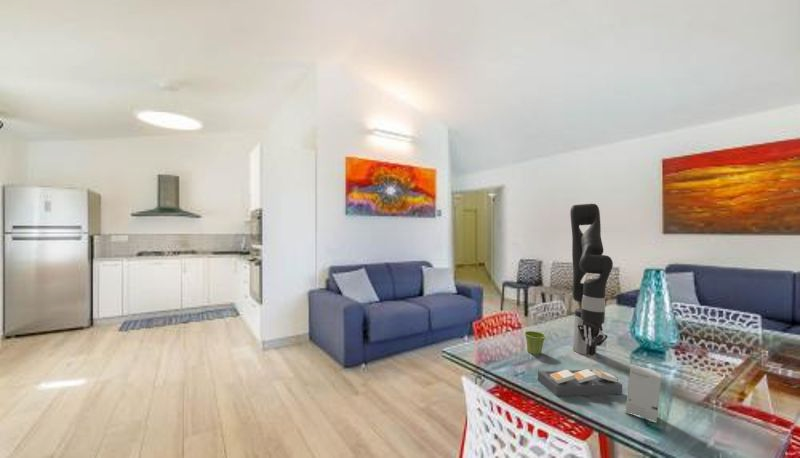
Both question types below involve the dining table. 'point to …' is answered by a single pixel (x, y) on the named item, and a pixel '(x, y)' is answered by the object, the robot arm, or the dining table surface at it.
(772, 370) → the dining table surface
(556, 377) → the rocker
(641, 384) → the skincare box
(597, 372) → the rocker
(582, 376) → the rocker
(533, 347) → the plant pot
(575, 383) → the power strip
